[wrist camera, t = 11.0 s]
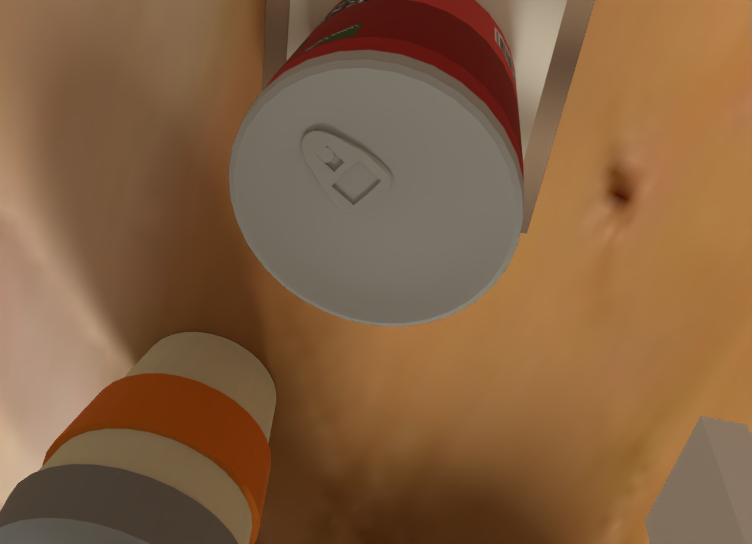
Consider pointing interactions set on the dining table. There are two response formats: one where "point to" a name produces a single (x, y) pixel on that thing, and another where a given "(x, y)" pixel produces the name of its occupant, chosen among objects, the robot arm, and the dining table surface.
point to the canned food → (386, 162)
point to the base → (529, 54)
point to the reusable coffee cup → (158, 455)
